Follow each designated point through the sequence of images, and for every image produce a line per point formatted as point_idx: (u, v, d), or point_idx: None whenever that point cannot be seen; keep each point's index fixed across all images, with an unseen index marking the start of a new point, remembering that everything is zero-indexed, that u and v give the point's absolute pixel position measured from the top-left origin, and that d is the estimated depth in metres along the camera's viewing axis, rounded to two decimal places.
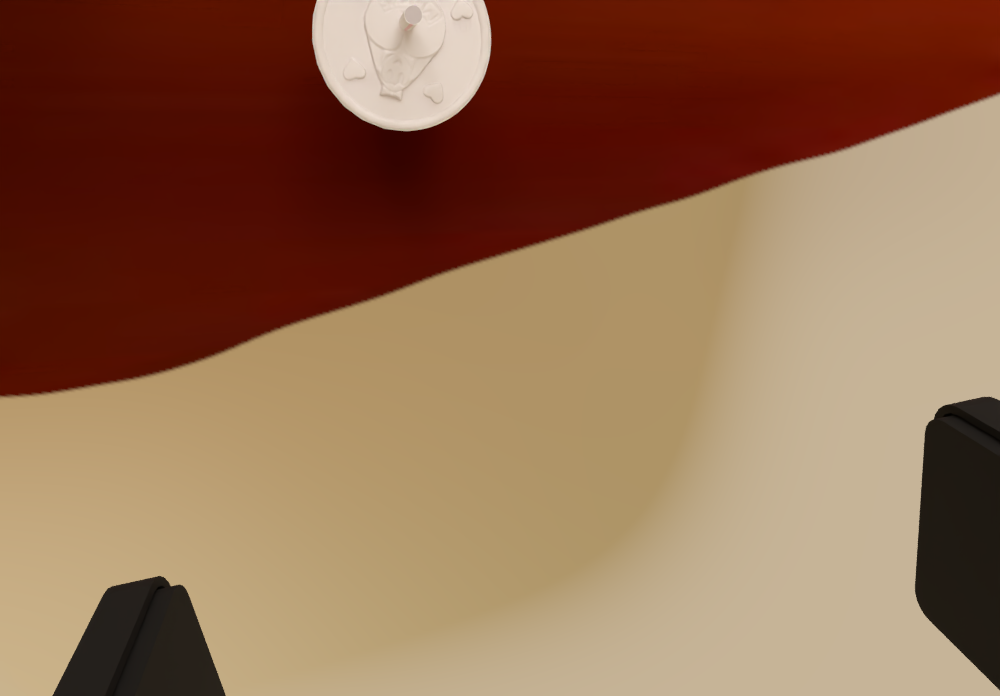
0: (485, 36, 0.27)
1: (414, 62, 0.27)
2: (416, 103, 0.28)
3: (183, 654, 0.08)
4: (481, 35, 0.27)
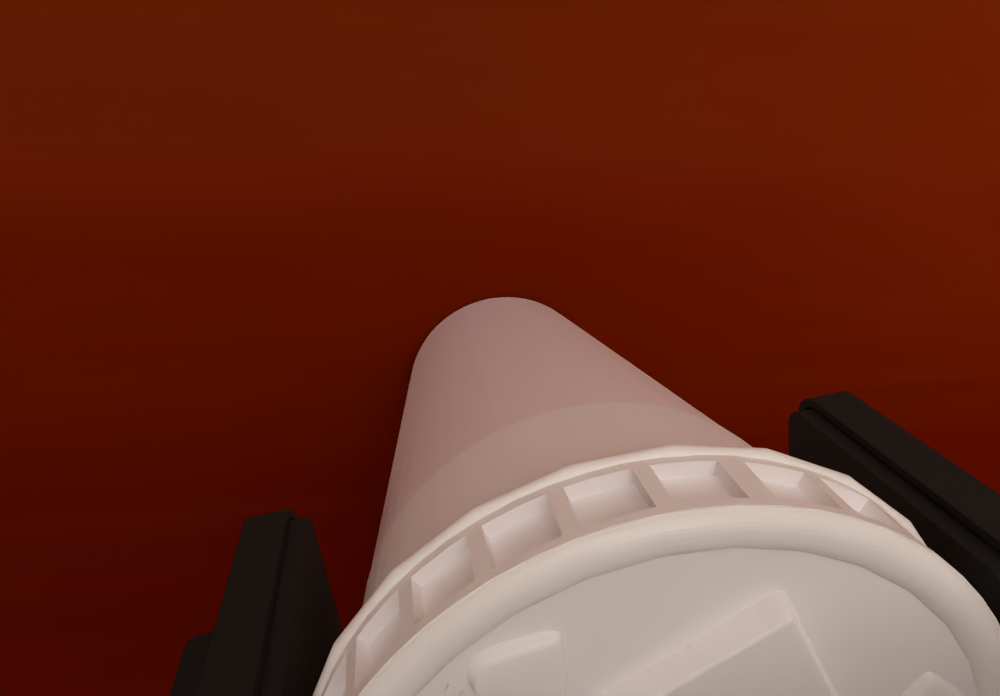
0: None
1: None
2: None
3: (315, 577, 0.09)
4: None
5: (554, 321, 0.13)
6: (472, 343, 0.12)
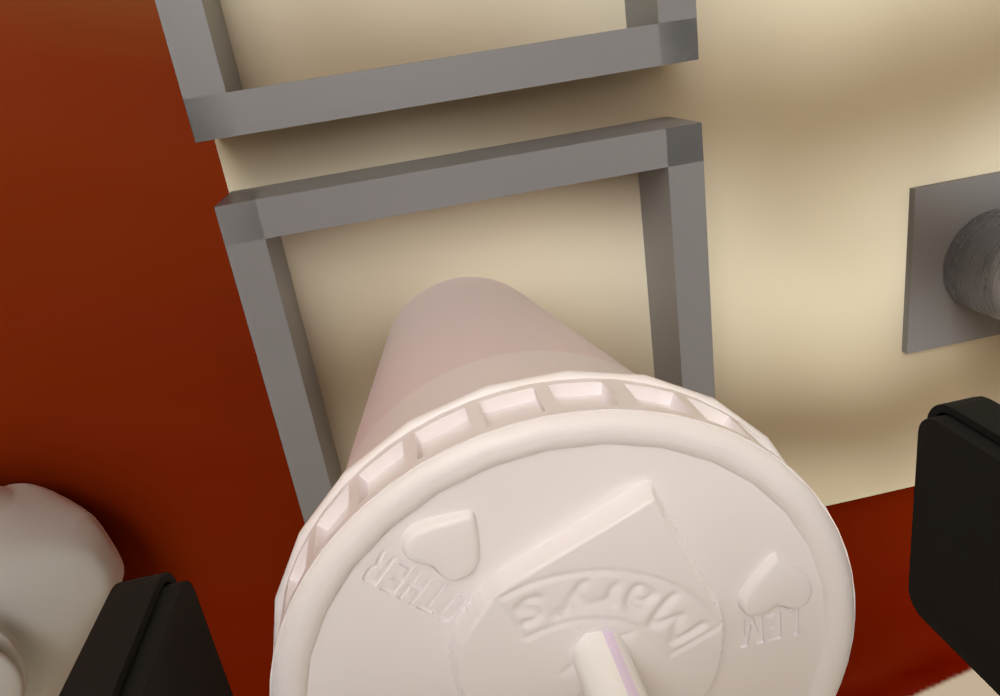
0: (838, 644, 0.08)
1: None
2: None
3: (190, 649, 0.08)
4: (826, 644, 0.08)
5: (509, 295, 0.14)
6: (434, 313, 0.13)
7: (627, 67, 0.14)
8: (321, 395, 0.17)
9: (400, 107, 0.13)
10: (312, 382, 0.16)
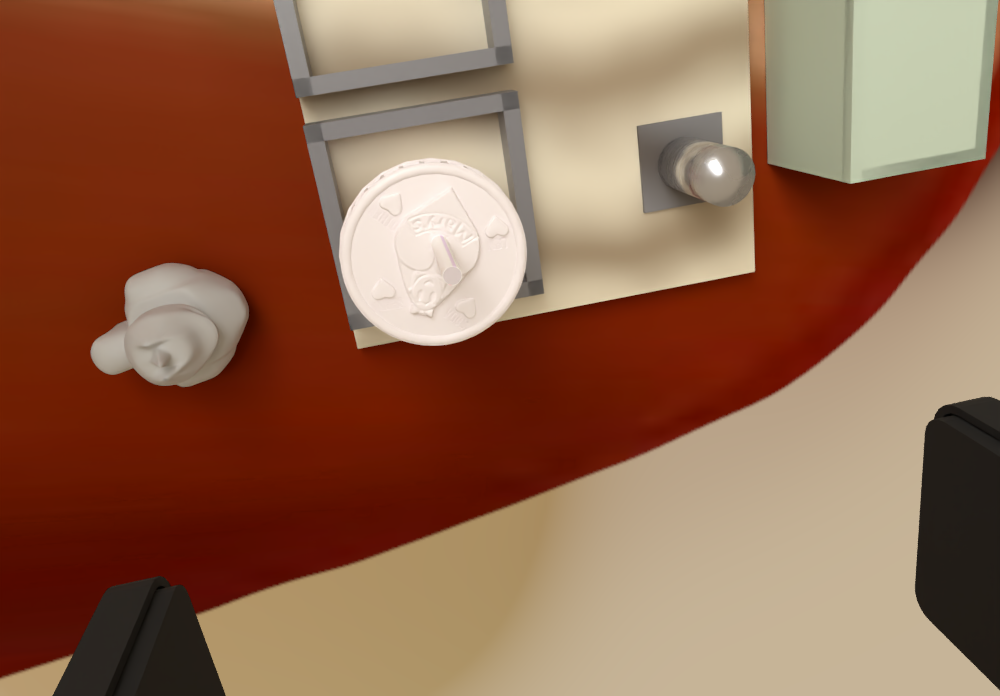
0: (521, 252, 0.26)
1: None
2: (447, 319, 0.26)
3: (183, 655, 0.08)
4: (516, 251, 0.26)
5: None
6: None
7: (481, 66, 0.31)
8: None
9: (382, 83, 0.31)
10: (342, 214, 0.33)
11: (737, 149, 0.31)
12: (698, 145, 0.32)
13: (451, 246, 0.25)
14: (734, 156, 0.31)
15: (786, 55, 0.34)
